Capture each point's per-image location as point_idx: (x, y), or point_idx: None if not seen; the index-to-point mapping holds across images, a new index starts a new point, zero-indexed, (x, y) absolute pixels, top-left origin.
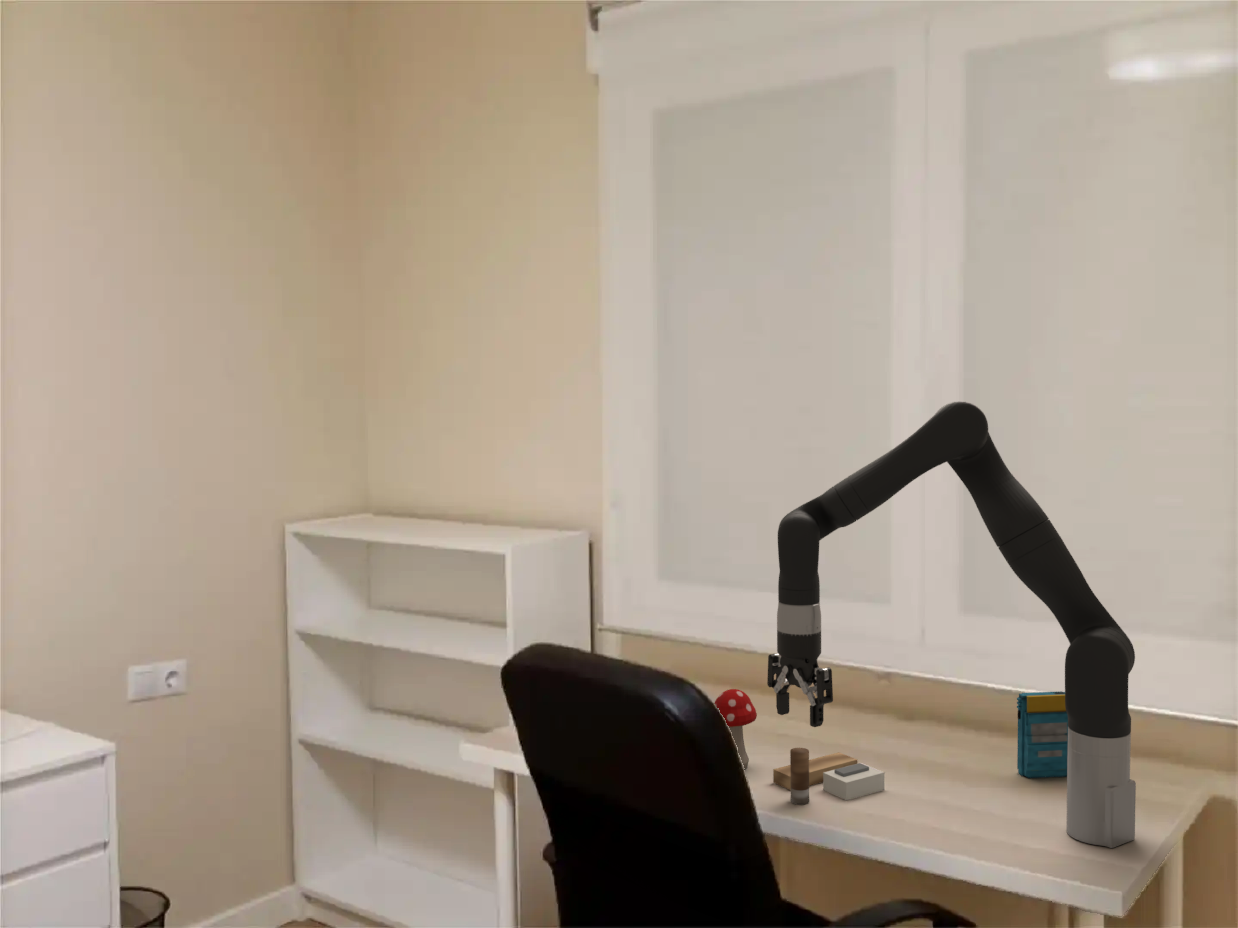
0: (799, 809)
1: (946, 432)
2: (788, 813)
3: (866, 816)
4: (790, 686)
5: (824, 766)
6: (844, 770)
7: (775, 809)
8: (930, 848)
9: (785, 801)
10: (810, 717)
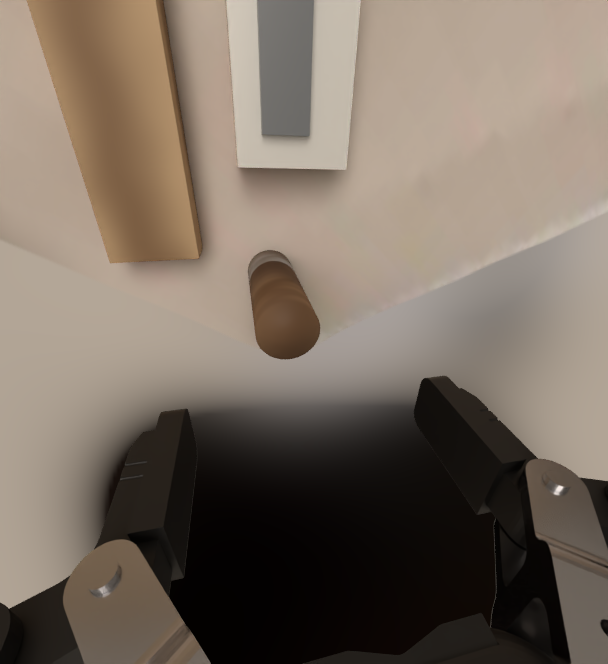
0: None
1: None
2: None
3: (424, 201)
4: (165, 593)
5: (153, 81)
6: (288, 106)
7: None
8: (588, 210)
9: None
10: (438, 452)
